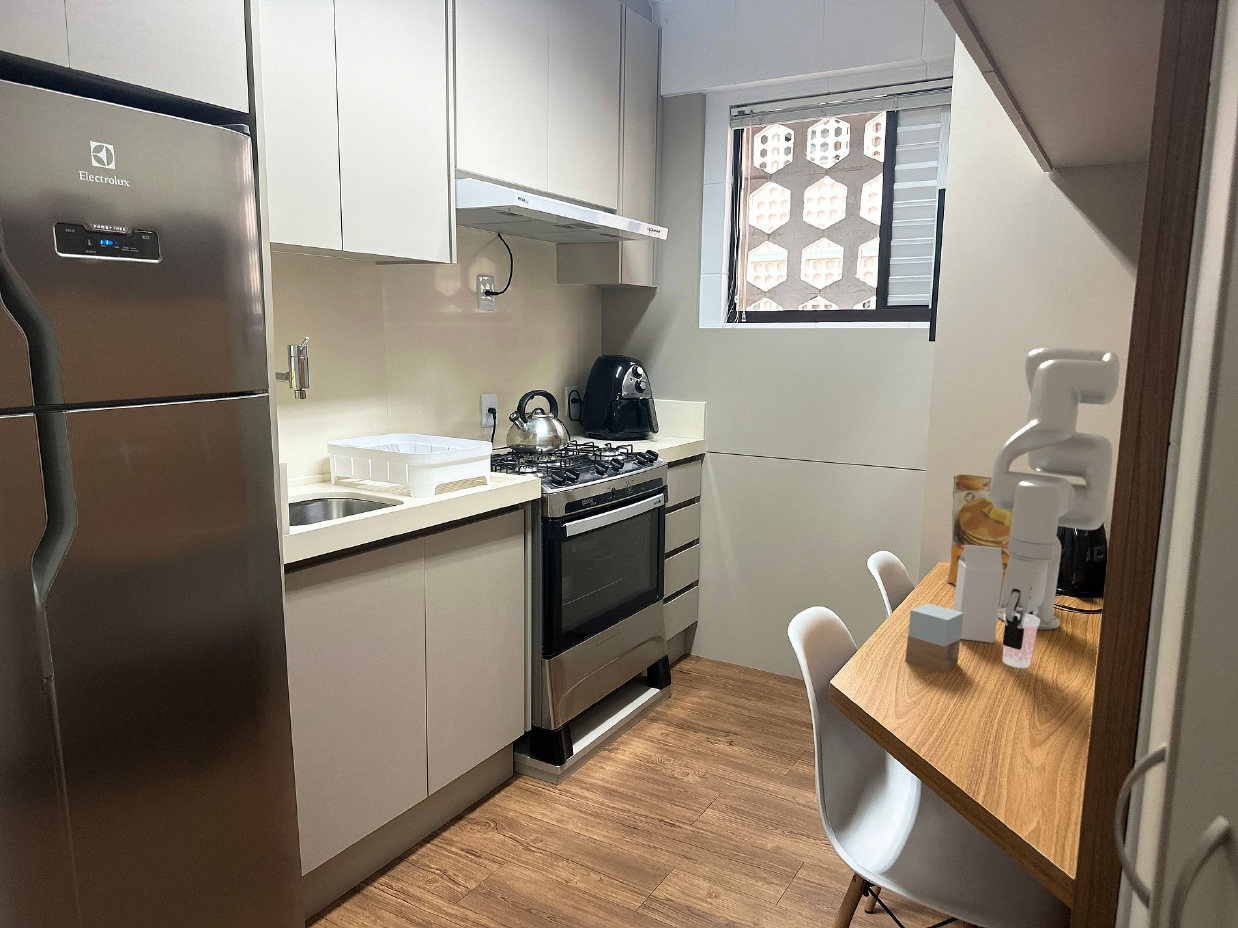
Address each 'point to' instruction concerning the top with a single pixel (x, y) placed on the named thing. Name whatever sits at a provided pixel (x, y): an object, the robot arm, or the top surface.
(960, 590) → the milk carton
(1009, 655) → the beverage cup
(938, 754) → the top surface
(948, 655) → the bottom block
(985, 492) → the pancake mix bag
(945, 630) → the top block
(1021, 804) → the top surface
